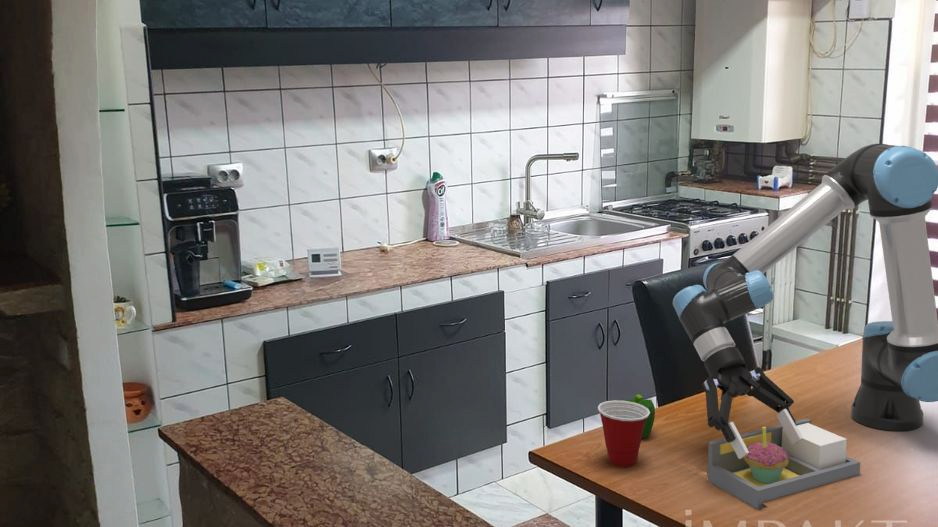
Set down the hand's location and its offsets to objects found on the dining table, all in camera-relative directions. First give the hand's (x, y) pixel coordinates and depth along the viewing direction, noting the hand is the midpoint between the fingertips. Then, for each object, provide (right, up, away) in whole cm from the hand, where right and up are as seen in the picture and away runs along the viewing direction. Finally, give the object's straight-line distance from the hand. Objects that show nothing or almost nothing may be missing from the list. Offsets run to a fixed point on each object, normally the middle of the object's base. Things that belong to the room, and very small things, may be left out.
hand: (771, 448), depth 171 cm
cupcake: (0, -7, +3) cm, 7 cm away
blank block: (+11, -5, +8) cm, 14 cm away
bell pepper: (-20, -3, +31) cm, 37 cm away
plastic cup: (-26, -6, +16) cm, 31 cm away
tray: (+4, -7, +5) cm, 9 cm away
